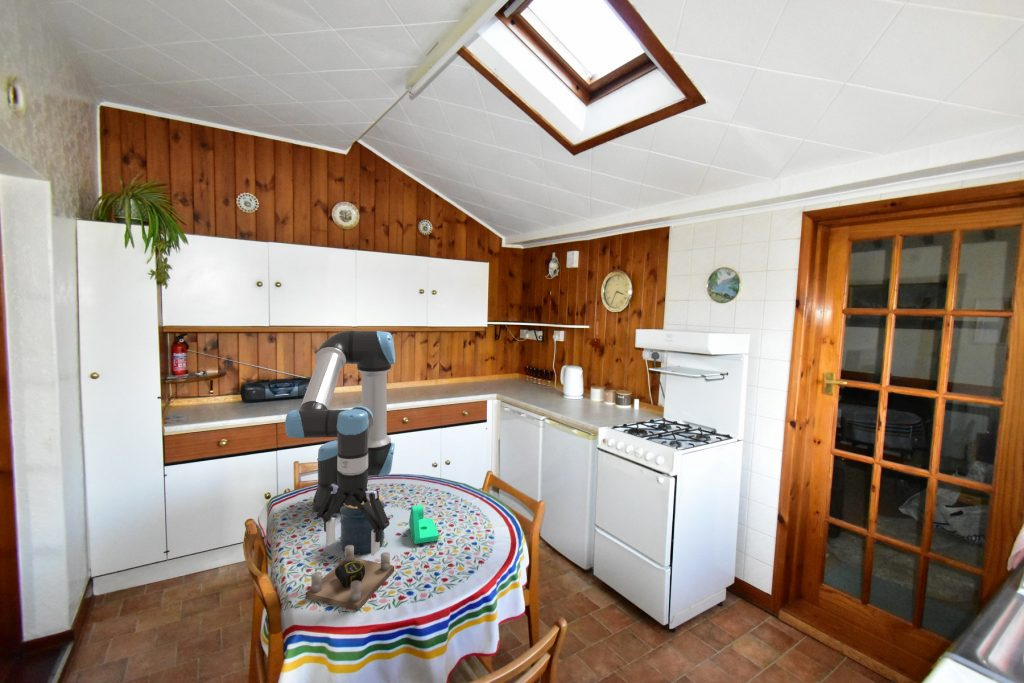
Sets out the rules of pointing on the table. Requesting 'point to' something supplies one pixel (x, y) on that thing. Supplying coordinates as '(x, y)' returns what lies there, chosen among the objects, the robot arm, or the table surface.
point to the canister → (356, 529)
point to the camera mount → (422, 526)
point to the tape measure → (350, 572)
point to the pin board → (345, 593)
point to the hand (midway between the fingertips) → (352, 548)
